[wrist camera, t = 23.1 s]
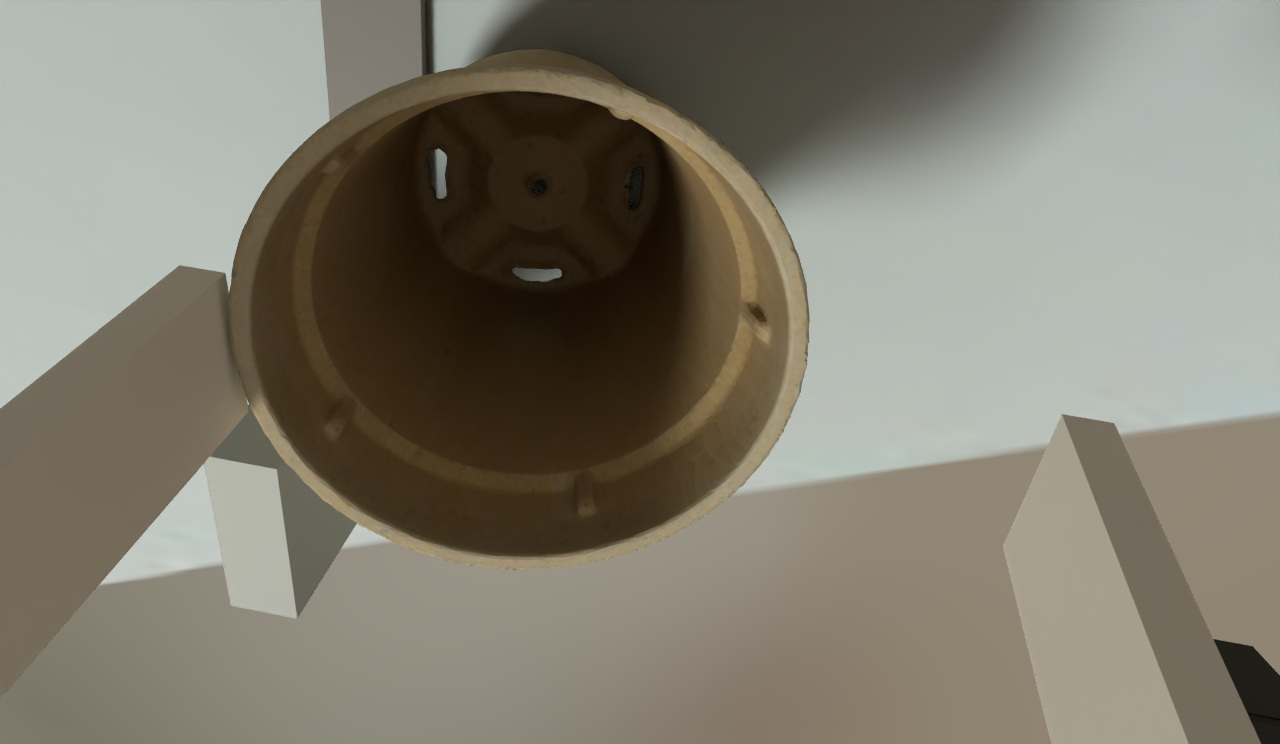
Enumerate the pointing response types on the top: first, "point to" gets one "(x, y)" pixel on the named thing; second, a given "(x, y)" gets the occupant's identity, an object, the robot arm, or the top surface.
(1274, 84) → the top surface
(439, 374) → the flower pot
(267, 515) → the wall
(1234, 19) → the top surface
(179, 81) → the top surface
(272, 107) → the top surface
